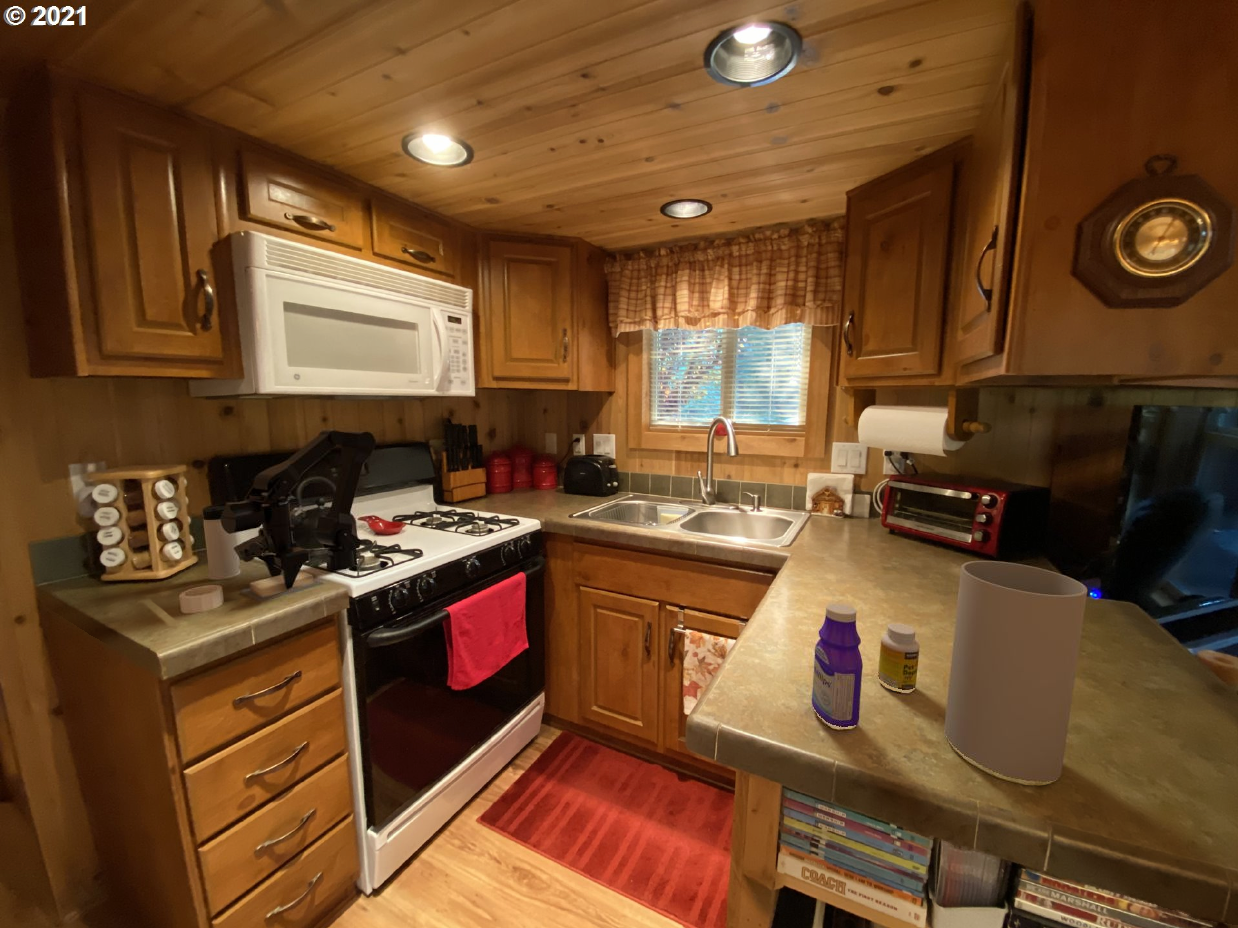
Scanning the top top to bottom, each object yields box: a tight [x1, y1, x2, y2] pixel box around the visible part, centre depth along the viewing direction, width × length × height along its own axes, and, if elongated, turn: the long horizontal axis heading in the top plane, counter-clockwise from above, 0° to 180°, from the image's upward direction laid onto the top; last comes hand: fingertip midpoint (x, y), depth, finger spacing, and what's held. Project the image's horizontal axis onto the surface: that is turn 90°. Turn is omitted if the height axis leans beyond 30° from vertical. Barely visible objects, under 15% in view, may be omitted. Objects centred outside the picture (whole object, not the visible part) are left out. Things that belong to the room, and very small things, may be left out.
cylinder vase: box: [943, 560, 1088, 782], centre depth 64 cm, size 12×12×25 cm
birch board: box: [249, 569, 314, 598], centre depth 119 cm, size 11×7×2 cm, turn 146°
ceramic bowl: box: [178, 584, 224, 614], centre depth 108 cm, size 7×7×4 cm
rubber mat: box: [239, 577, 325, 604], centre depth 119 cm, size 14×12×1 cm
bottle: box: [811, 602, 864, 727], centre depth 72 cm, size 7×6×17 cm
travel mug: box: [202, 501, 241, 581], centre depth 126 cm, size 6×7×20 cm
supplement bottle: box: [877, 622, 921, 690], centre depth 81 cm, size 6×6×10 cm
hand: (282, 584), depth 119 cm, fingers closed on birch board, 7 cm apart
